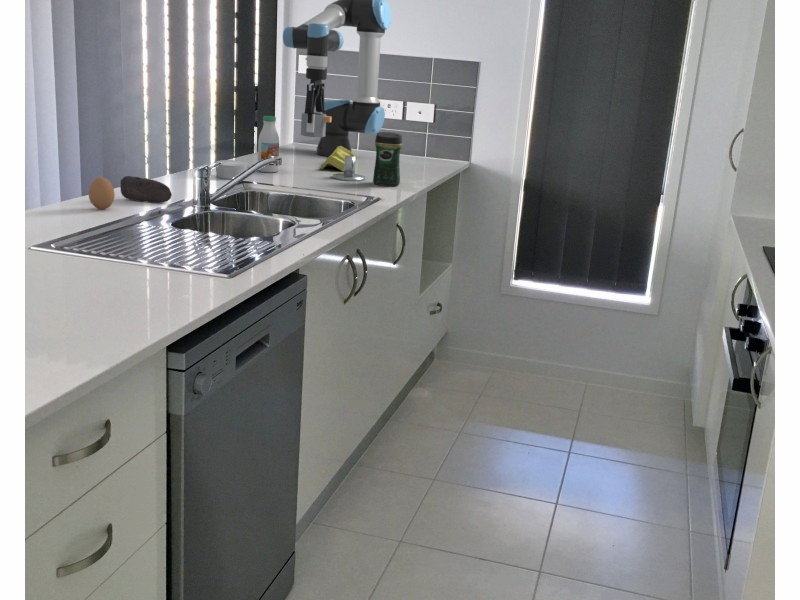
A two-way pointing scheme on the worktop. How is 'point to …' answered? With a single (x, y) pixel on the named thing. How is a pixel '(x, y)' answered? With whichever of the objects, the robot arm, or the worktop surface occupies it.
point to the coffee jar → (387, 159)
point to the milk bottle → (268, 143)
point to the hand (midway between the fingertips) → (314, 130)
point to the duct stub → (349, 171)
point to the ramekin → (230, 168)
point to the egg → (101, 193)
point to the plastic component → (337, 158)
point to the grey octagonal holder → (315, 125)
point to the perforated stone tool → (144, 189)
